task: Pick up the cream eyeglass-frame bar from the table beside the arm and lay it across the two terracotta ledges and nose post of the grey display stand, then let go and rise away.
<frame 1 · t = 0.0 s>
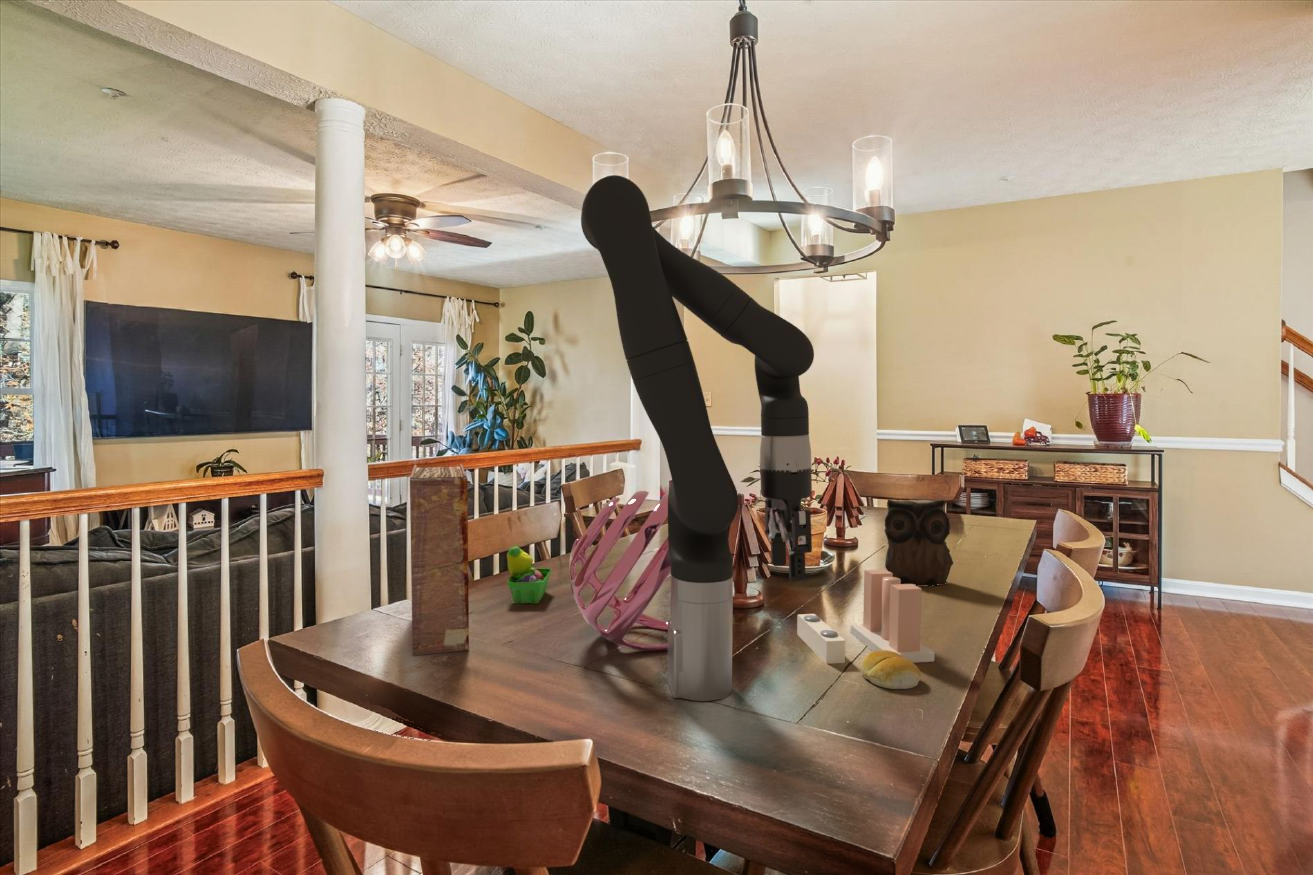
hand: (787, 572, 103), 17 cm above the table, tool pointing down, fingers open, 8 cm apart
frame bar: (819, 649, 119), on the table
bread roll: (890, 680, 106), on the table
display stand: (889, 646, 120), on the table
owl: (916, 580, 164), on the table
spiral basket: (637, 638, 124), on the table
book: (441, 630, 128), on the table
fruit basket: (527, 598, 149), on the table
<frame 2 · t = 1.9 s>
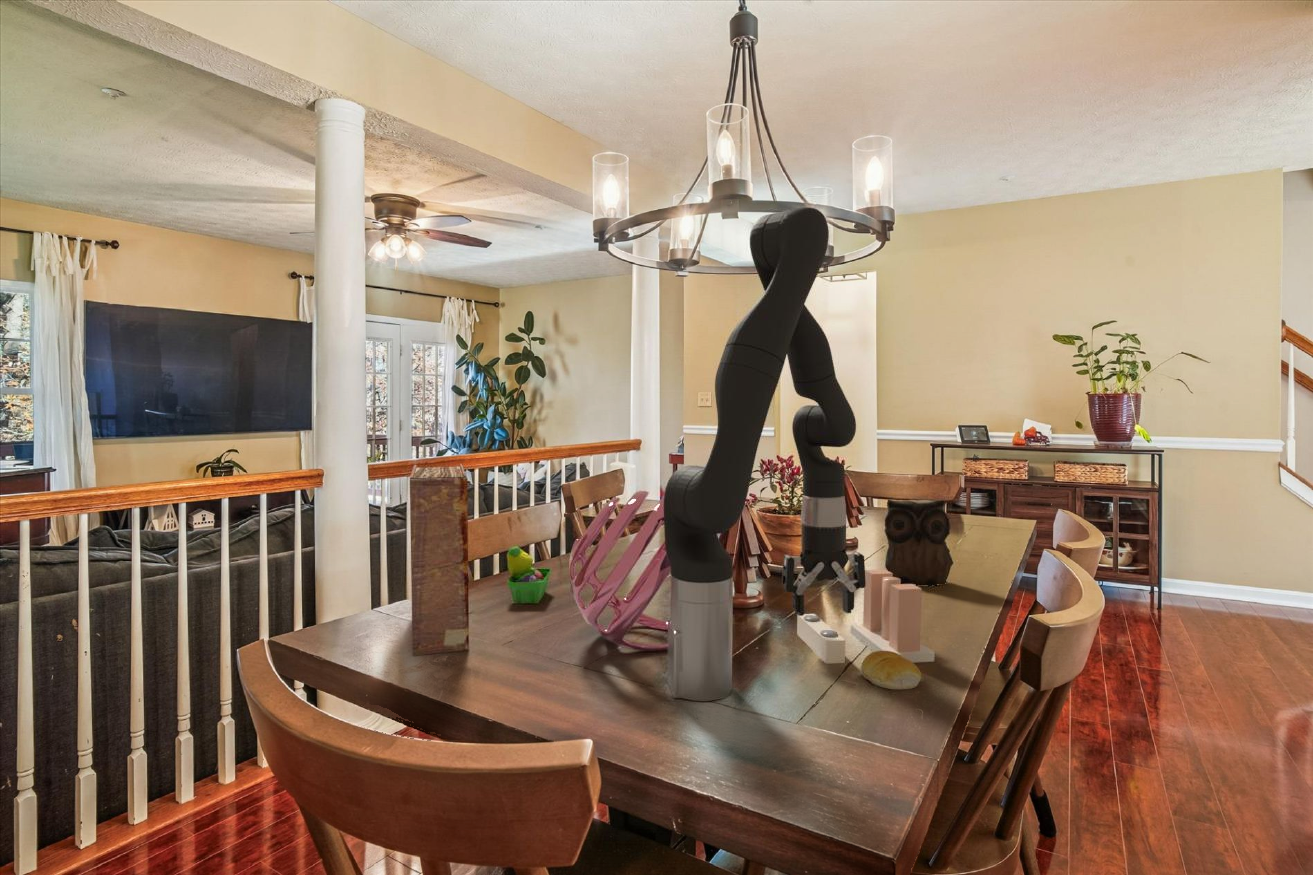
hand: (823, 613, 119), 6 cm above the table, tool pointing down, fingers open, 8 cm apart
nothing on the table moved.
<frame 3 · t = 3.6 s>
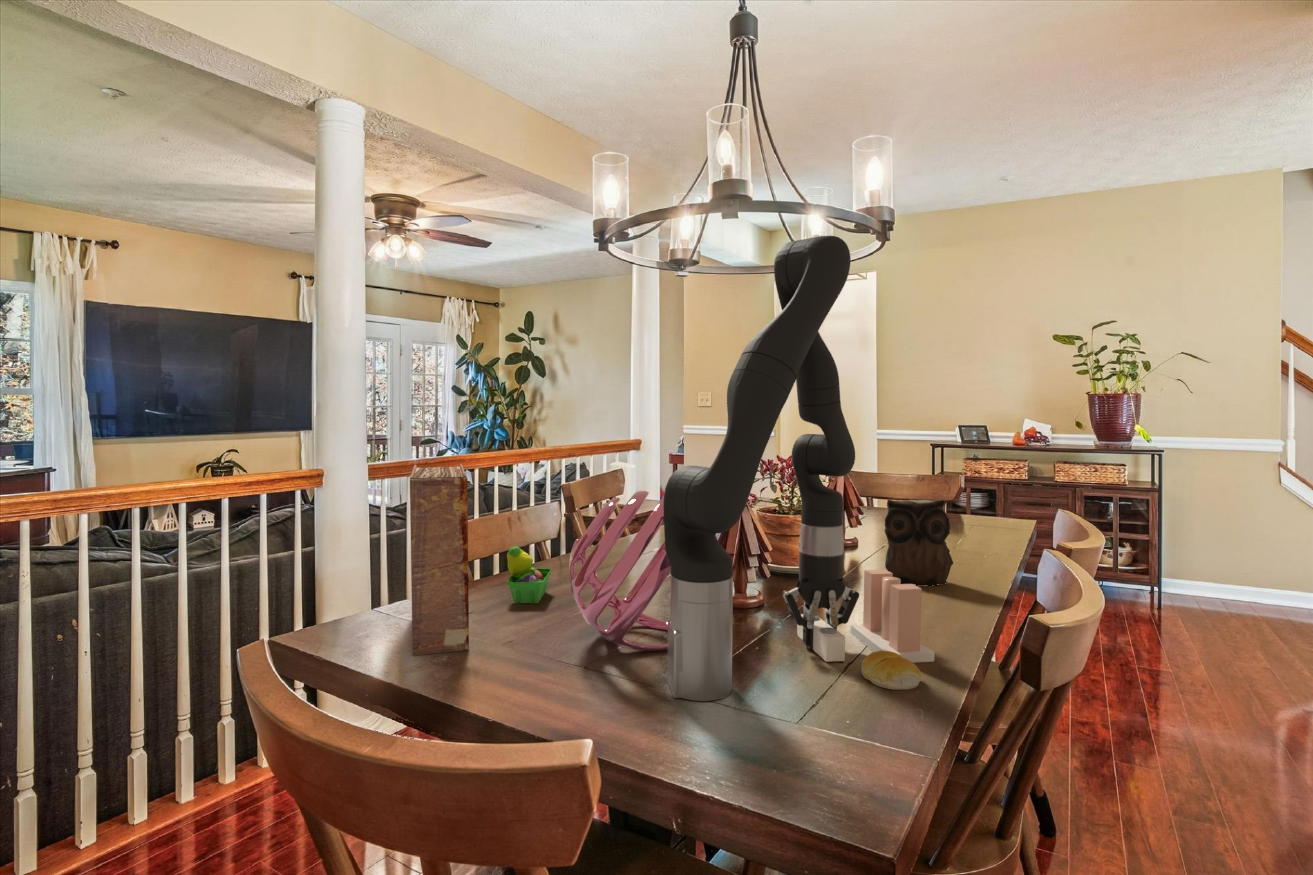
hand: (819, 646, 119), 0 cm above the table, tool pointing down, fingers closed on frame bar, 3 cm apart
frame bar: (819, 647, 119), on the table, touching gripper
everything else where it was.
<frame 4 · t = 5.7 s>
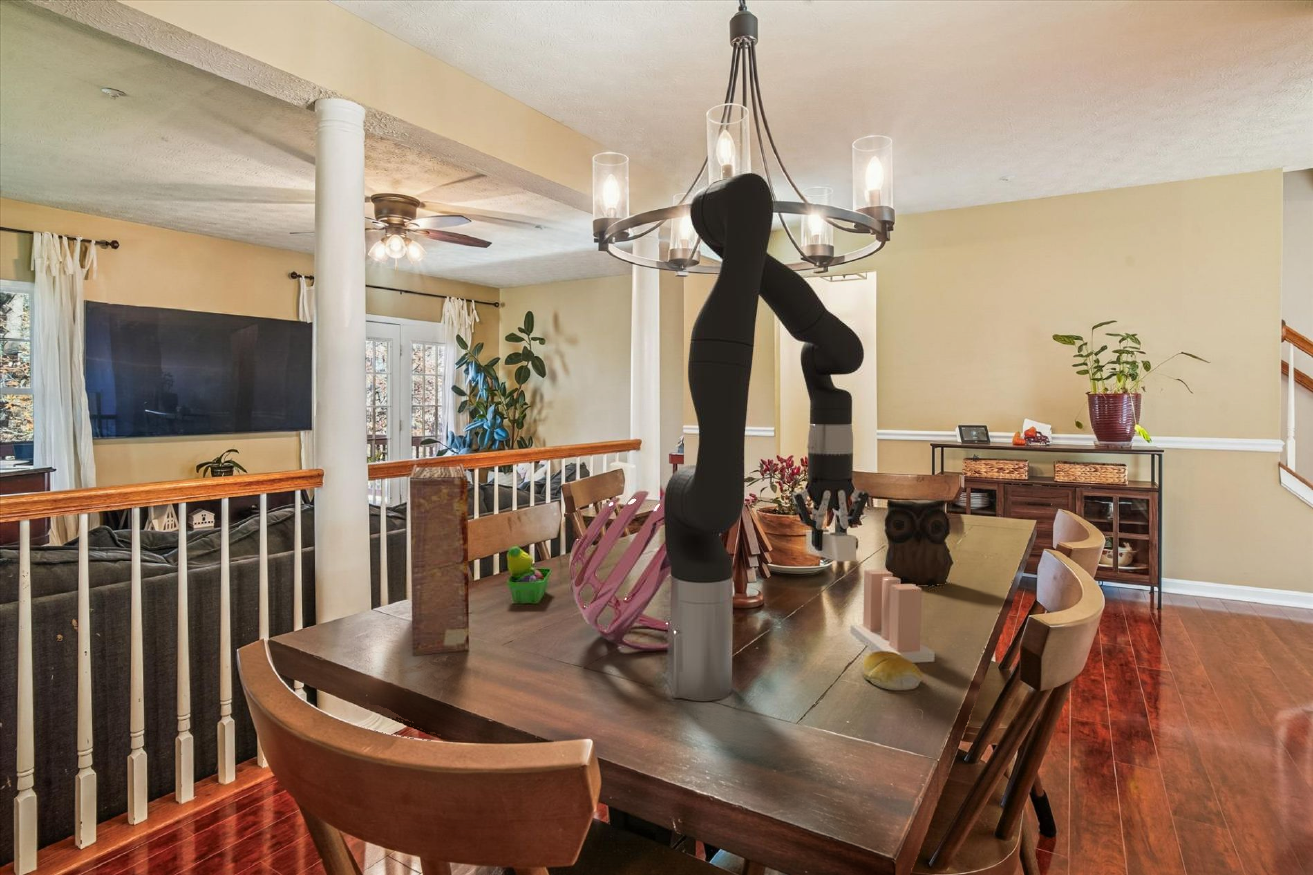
hand: (829, 549, 118), 17 cm above the table, tool pointing down, fingers closed on frame bar, 3 cm apart
frame bar: (830, 556, 118), point 16 cm above the table, tilted 7°, touching gripper
everything else where it was.
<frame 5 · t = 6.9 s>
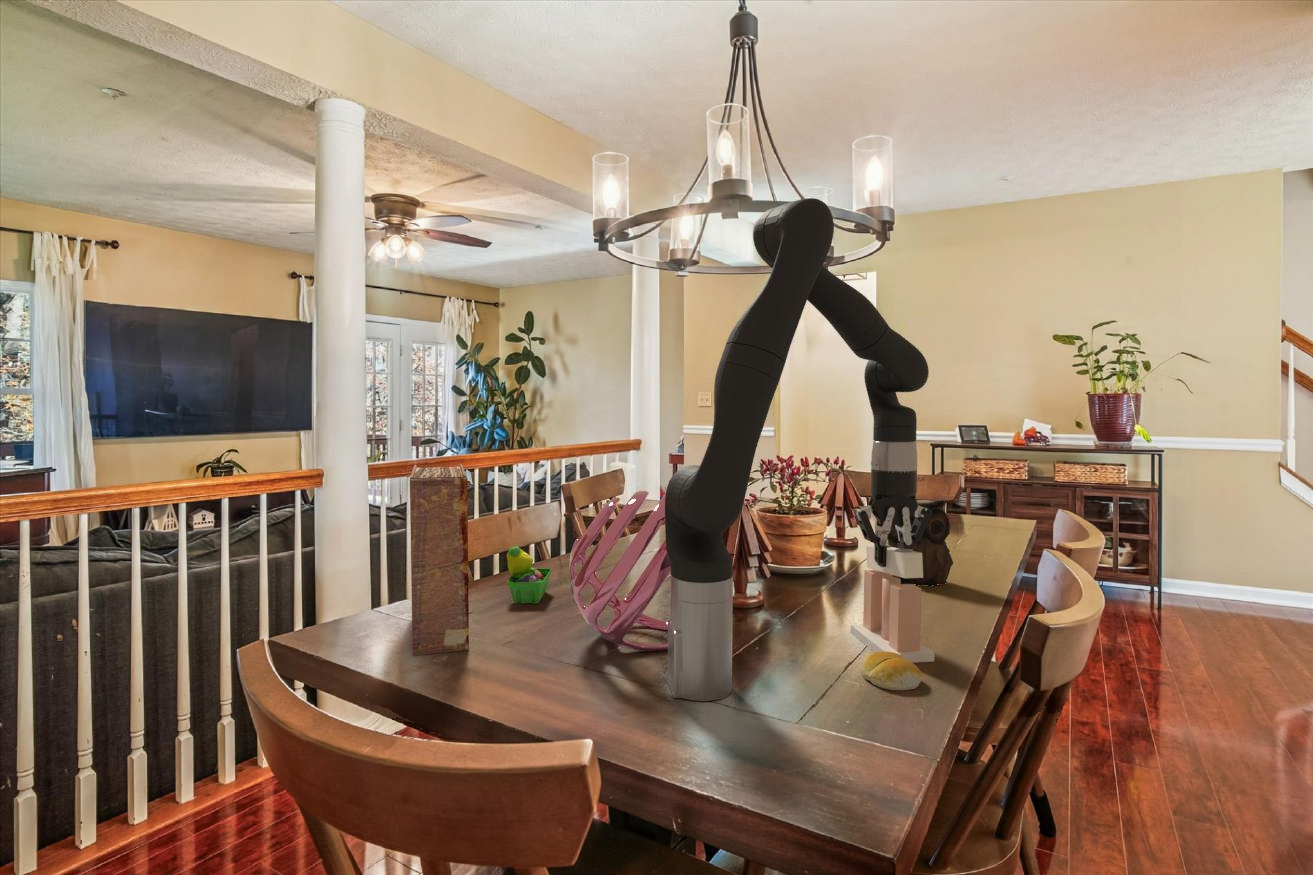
hand: (892, 565, 119), 14 cm above the table, tool pointing down, fingers closed on frame bar, 3 cm apart
frame bar: (893, 572, 118), point 13 cm above the table, tilted 7°, touching gripper
everything else where it was.
when the fingers open (13 cm above the table, at t = 7.8 s): frame bar stays where it is, resting on display stand.
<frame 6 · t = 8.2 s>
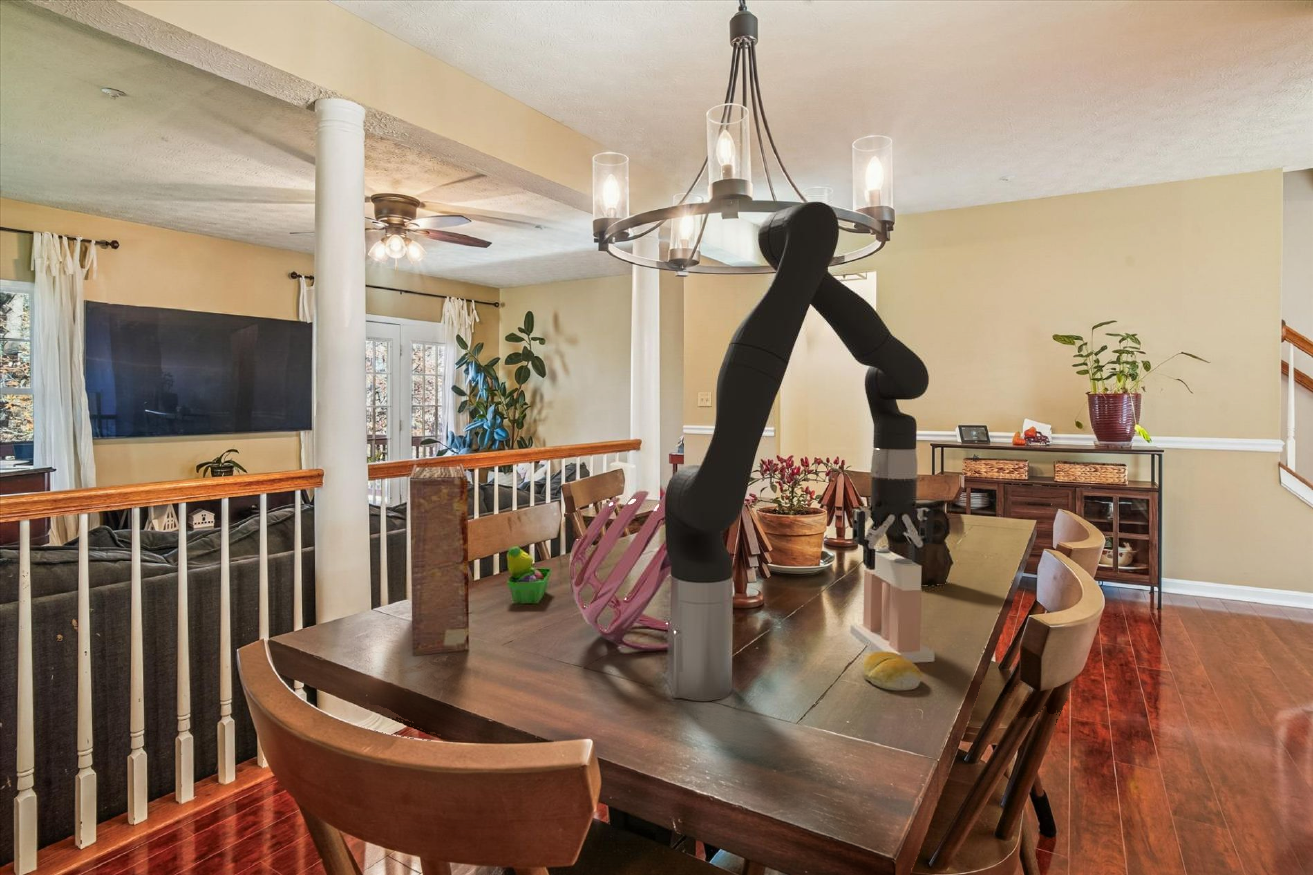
hand: (891, 568, 119), 14 cm above the table, tool pointing down, fingers open, 7 cm apart
frame bar: (891, 579, 119), point 12 cm above the table, touching display stand
everything else where it was.
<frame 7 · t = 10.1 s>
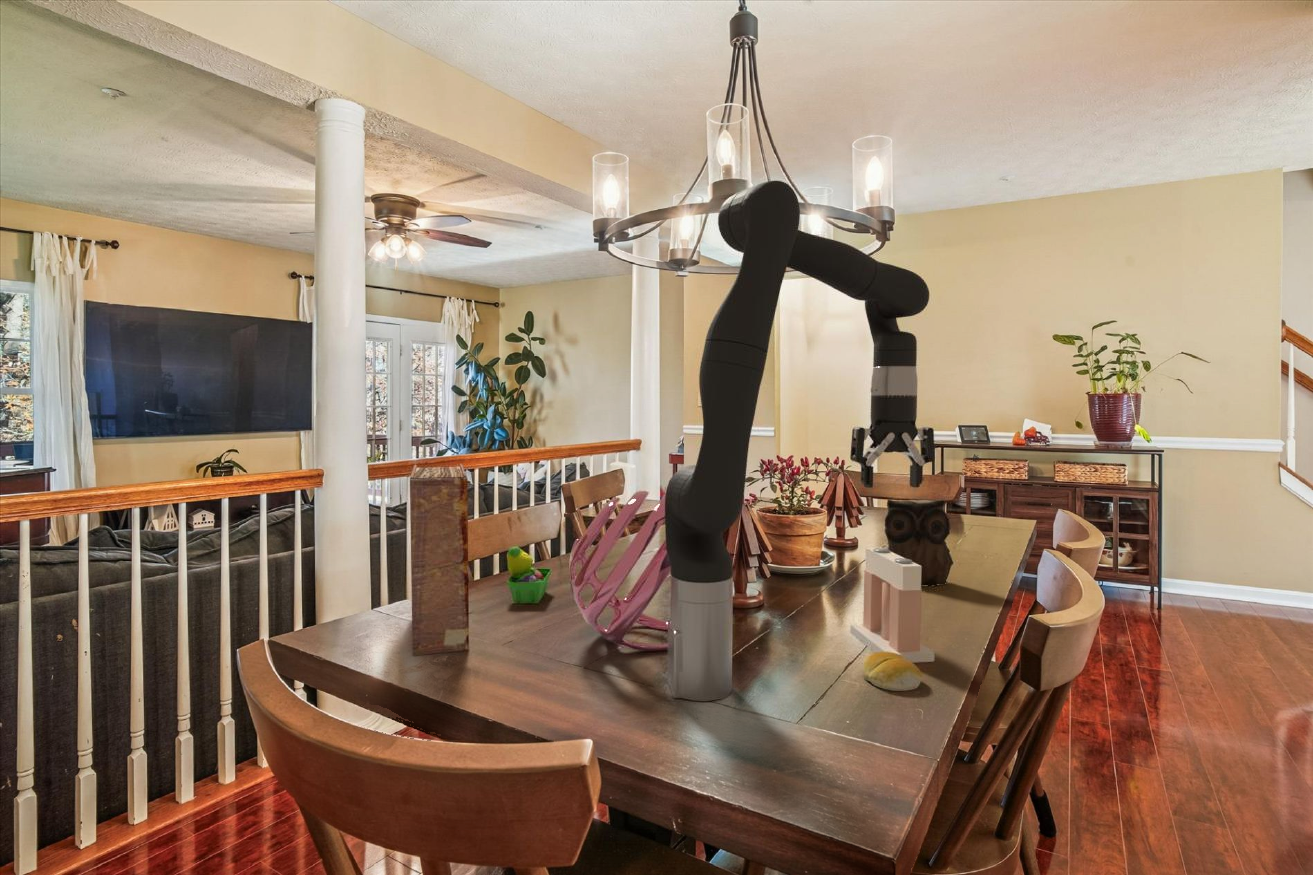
hand: (891, 487, 118), 28 cm above the table, tool pointing down, fingers open, 8 cm apart
nothing on the table moved.
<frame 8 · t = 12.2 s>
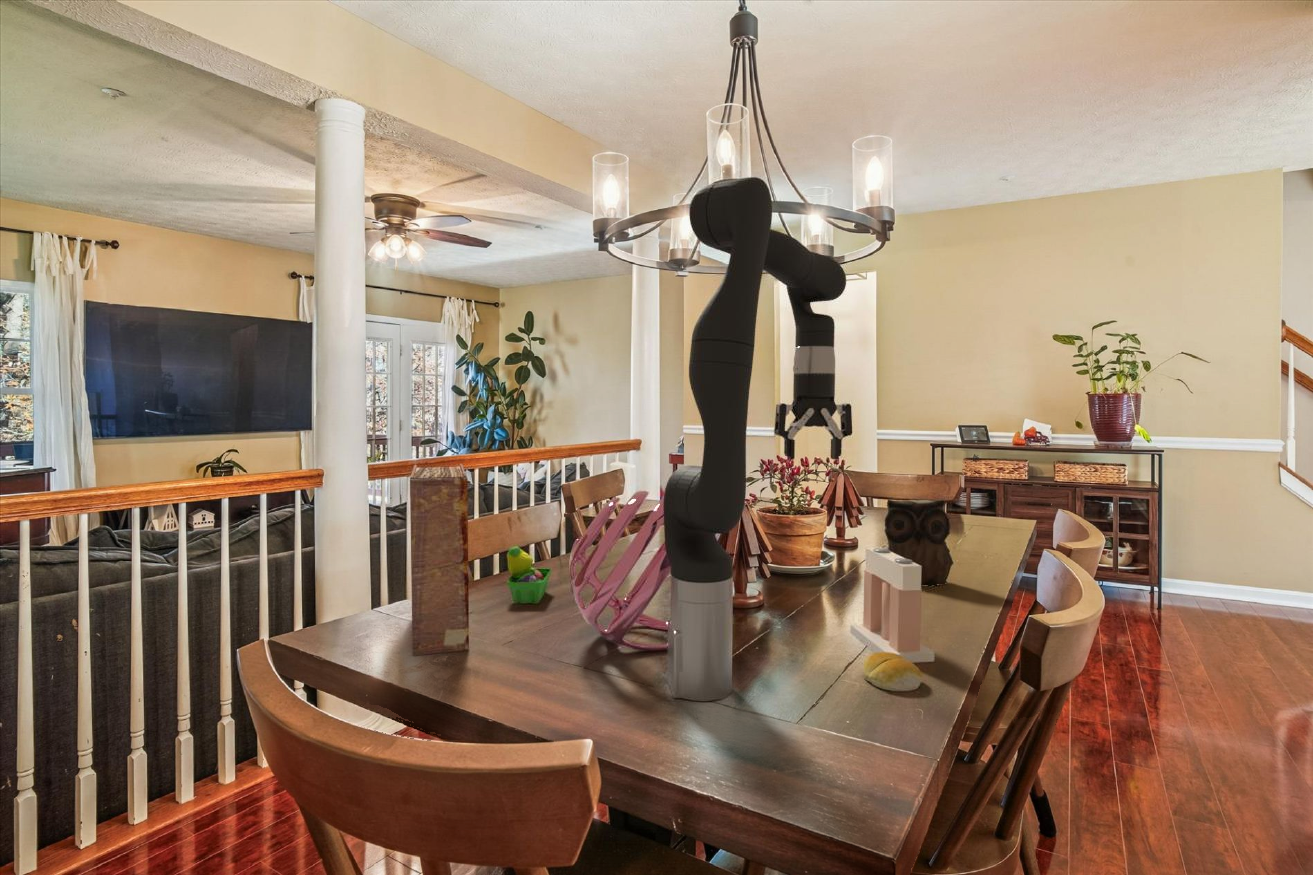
hand: (812, 459, 128), 32 cm above the table, tool pointing down, fingers open, 8 cm apart
nothing on the table moved.
at the end: frame bar 0.2 cm off-centre on the display stand, point 12.0 cm above the display stand's base; frame bar tilted 0°; the gripper is holding nothing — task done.
